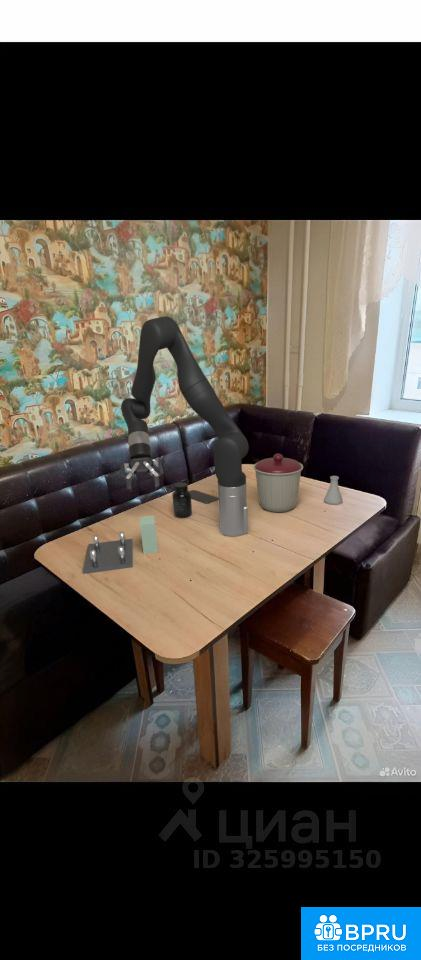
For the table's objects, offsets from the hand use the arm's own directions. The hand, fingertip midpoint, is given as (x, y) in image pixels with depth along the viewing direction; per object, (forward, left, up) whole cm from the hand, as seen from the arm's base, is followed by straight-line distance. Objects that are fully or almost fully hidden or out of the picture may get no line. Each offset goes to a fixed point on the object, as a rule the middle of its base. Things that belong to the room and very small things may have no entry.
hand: (143, 489), depth 134 cm
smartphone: (-17, -31, -16) cm, 39 cm away
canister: (-47, -17, -16) cm, 53 cm away
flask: (-69, -20, -16) cm, 74 cm away
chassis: (+10, +15, -16) cm, 24 cm away
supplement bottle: (-11, -14, -16) cm, 24 cm away
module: (-2, +11, -16) cm, 20 cm away
